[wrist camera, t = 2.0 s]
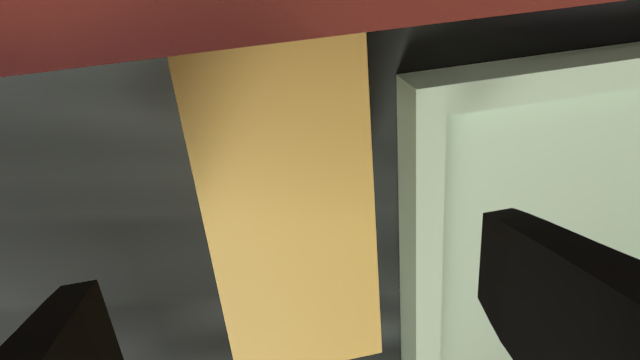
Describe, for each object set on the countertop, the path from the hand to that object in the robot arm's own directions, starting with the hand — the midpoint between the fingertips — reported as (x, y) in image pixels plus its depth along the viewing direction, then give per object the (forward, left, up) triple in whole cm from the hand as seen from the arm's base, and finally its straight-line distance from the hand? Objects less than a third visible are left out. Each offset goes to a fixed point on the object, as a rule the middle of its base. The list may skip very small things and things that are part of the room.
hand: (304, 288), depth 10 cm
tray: (-8, -8, -5) cm, 12 cm away
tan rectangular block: (+4, 0, -6) cm, 7 cm away
